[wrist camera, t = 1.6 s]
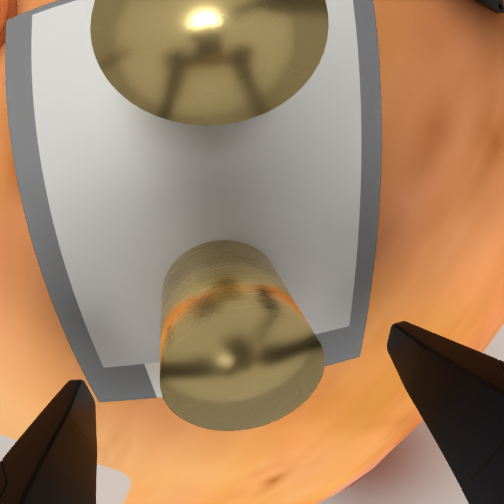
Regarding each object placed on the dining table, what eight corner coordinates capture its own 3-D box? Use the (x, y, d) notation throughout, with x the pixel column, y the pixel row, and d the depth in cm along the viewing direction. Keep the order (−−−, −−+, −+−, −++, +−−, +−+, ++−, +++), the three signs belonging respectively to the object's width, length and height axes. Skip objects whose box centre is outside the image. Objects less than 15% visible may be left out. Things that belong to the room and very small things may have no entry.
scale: (346, 2, 12) (392, -20, 8) (342, 332, 20) (372, 374, 16) (29, 31, 9) (-12, 11, 6) (103, 372, 17) (95, 424, 14)
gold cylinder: (277, 231, 11) (330, 298, 7) (279, 331, 13) (318, 412, 9) (150, 249, 11) (139, 330, 7) (174, 349, 13) (179, 439, 9)
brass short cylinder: (263, -7, 8) (317, -68, 4) (271, 116, 10) (334, 120, 6) (124, 3, 7) (95, -61, 3) (132, 131, 9) (98, 143, 5)
